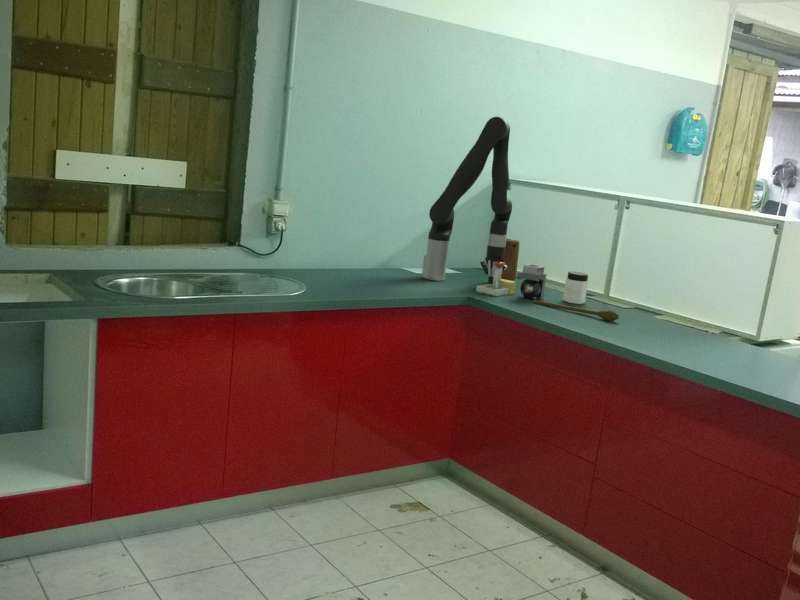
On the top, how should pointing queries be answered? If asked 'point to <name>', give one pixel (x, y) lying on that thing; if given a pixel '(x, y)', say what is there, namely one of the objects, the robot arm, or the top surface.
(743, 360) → the top surface
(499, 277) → the pin
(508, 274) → the block
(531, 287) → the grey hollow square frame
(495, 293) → the tray
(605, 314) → the brown wooden spoon
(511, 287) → the block
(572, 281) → the jar
